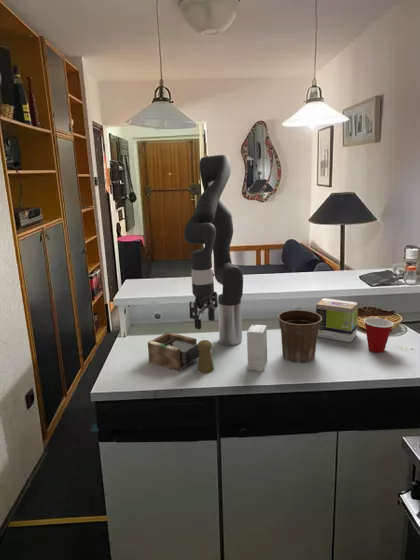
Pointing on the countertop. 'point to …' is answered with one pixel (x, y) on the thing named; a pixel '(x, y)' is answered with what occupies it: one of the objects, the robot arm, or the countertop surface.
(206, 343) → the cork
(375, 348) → the plastic cup
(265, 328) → the skincare box
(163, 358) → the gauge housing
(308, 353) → the plant pot
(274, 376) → the countertop surface
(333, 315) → the tea box
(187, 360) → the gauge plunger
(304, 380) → the countertop surface
